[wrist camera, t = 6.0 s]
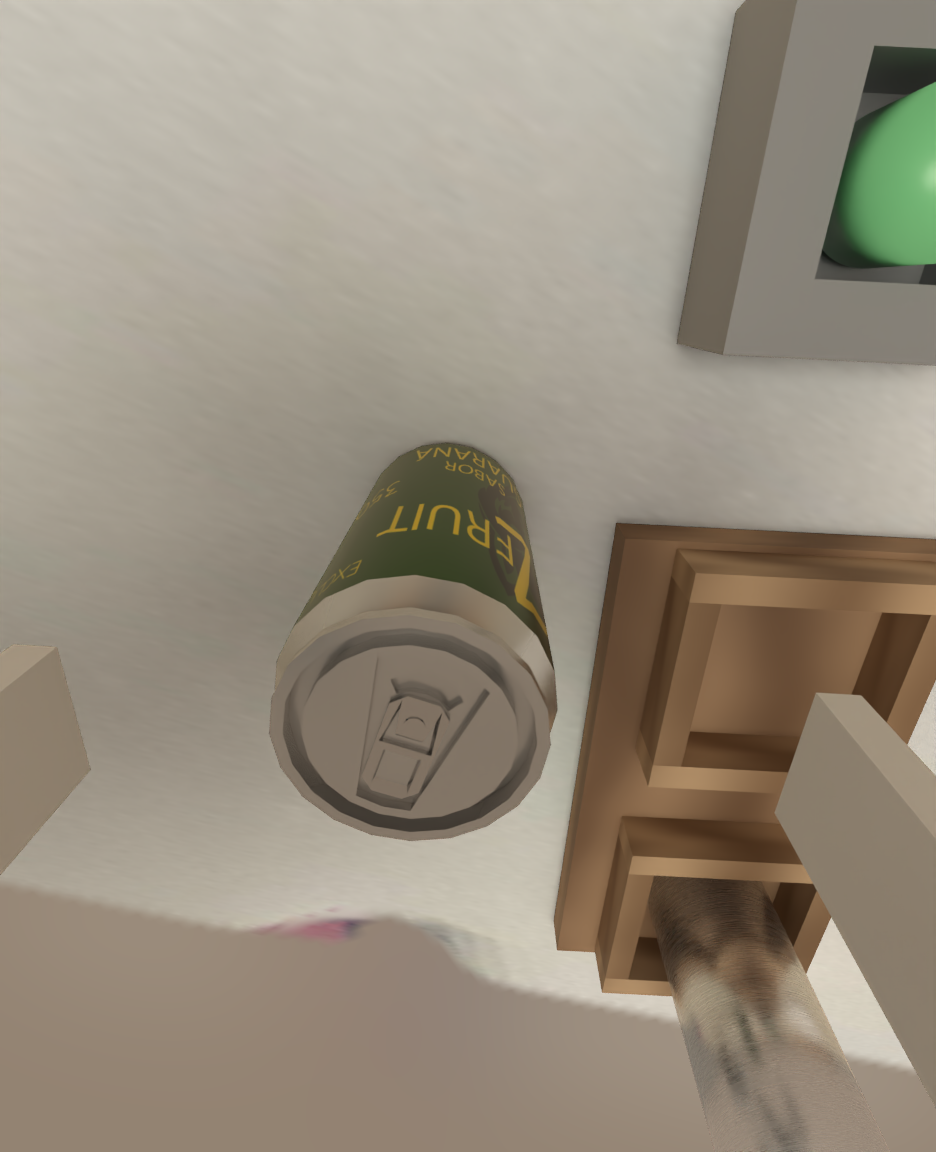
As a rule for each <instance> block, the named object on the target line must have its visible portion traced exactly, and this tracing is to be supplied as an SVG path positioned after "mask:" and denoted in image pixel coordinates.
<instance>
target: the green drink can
mask: <svg viewBox="0 0 936 1152" xmlns="http://www.w3.org/2000/svg"><path fill="white" fill-rule="evenodd" d="M556 713H557V697H556V684H555V672H554V666H553V661H552V656H551V651H550V645H549V640H548V635H547V630H546V624H545V619H544V614H543V609H542V603H541V598H540V593H539V587H538V582H537V577H536V572H535V566H534V561H533V556H532V551H531V545H530V540H529V535H528V530H527V524H526V519H525V514H524V508H523V503H522V500H521V498H520V495H519V493H518V491H517V489H516V486H515V484H514V482H513V480H512V478H511V477H510V476H509V475H508V474H507V473H506V472H505V471H504V470H503V468H502V467H501V466H500V465H499V464H498V463H497V462H496V461H495V460H493V459H491V458H490V457H488V456H486V455H484V454H482V453H481V452H479V451H477V450H475V449H474V448H470V447H465V446H460V445H455V444H450V443H443V444H435V445H427V446H421V447H419V448H416V449H414V450H412V451H410V452H408V453H406V454H404V455H402V456H399V457H398V458H397V459H396V460H395V461H394V462H393V463H392V464H391V465H390V466H389V467H388V468H387V469H386V470H385V471H384V472H383V473H381V475H380V477H379V478H378V480H377V482H376V484H375V485H374V487H373V489H372V491H371V492H370V494H369V496H368V498H367V499H366V501H365V503H364V505H363V506H362V508H361V510H360V512H359V513H358V515H357V517H356V519H355V520H354V522H353V524H352V526H351V527H350V529H349V531H348V533H347V534H346V536H345V538H344V540H343V541H342V543H341V545H340V547H339V548H338V550H337V552H336V554H335V555H334V557H333V559H332V561H331V562H330V564H329V566H328V568H327V569H326V571H325V573H324V575H323V576H322V578H321V580H320V582H319V583H318V585H317V587H316V589H315V590H314V592H313V594H312V596H311V597H310V599H309V601H308V603H307V604H306V606H305V608H304V610H303V611H302V613H301V615H300V617H299V618H298V620H297V622H296V623H295V625H294V627H293V629H292V631H291V633H290V635H289V637H288V639H287V641H286V643H285V645H284V647H283V649H282V651H281V653H280V655H279V657H278V659H277V664H276V678H275V692H274V694H273V696H272V701H271V715H270V730H269V734H270V737H271V740H272V743H273V746H274V749H275V752H276V755H277V758H278V761H279V764H280V767H281V769H282V770H283V771H284V772H285V774H286V775H287V776H288V778H289V779H290V780H291V782H292V783H293V784H294V786H295V787H296V788H297V790H298V791H299V792H300V794H301V795H302V796H303V797H304V798H305V799H307V800H308V801H309V802H311V803H312V804H313V805H315V806H316V807H318V808H319V809H320V810H322V811H323V812H324V813H326V814H327V815H328V816H330V817H331V818H332V819H334V820H336V821H339V822H341V823H343V824H346V825H348V826H351V827H353V828H356V829H358V830H361V831H363V832H366V833H368V834H370V835H376V836H383V837H389V838H395V839H402V840H408V841H416V840H430V839H444V838H452V837H455V836H458V835H461V834H464V833H467V832H471V831H474V830H477V829H480V828H483V827H486V826H488V825H490V824H491V823H493V822H494V821H496V820H497V819H499V818H500V817H502V816H503V815H505V814H506V813H508V812H509V811H511V810H512V809H514V808H515V807H517V806H518V805H519V804H520V803H521V801H522V800H523V799H524V798H525V796H526V795H527V794H528V793H529V791H530V790H531V789H532V788H533V786H534V785H535V784H536V782H537V781H538V780H539V779H540V777H541V774H542V770H543V767H544V764H545V761H546V758H547V755H548V752H549V748H550V745H551V743H550V732H551V729H552V725H553V722H554V719H555V716H556Z"/></svg>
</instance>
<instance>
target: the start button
mask: <svg viewBox="0 0 936 1152" xmlns="http://www.w3.org/2000/svg"><path fill="white" fill-rule="evenodd" d="M822 249H823V251H824V252H825V253H826V254H827V255H828V256H829V257H830V258H832V259H833V260H835V261H836V262H838V263H840V264H842V265H844V266H848V267H851V268H859V269H869V268H883V267H897V266H911V265H925V264H936V82H934V83H932V84H930V85H928V86H926V87H924V88H922V89H919V90H917V91H915V92H913V93H911V94H909V95H907V96H905V97H903V98H900V99H898V100H896V101H894V102H892V103H890V104H888V105H886V106H884V107H881V108H879V109H877V110H875V111H873V112H871V113H869V114H867V115H865V116H864V117H862V118H860V119H859V120H857V121H856V122H855V123H854V127H853V131H852V135H851V139H850V143H849V147H848V150H847V154H846V158H845V162H844V166H843V170H842V174H841V178H840V182H839V186H838V189H837V193H836V197H835V201H834V205H833V209H832V213H831V217H830V221H829V225H828V228H827V232H826V236H825V240H824V244H823V248H822Z"/></svg>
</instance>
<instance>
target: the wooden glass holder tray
mask: <svg viewBox="0 0 936 1152" xmlns="http://www.w3.org/2000/svg"><path fill="white" fill-rule="evenodd" d="M935 680H936V540H935V539H915V538H896V537H876V536H857V535H837V534H818V533H798V532H779V531H759V530H740V529H720V528H701V527H681V526H662V525H642V524H623V523H616V529H615V535H614V542H613V548H612V554H611V561H610V567H609V573H608V580H607V586H606V592H605V599H604V605H603V612H602V618H601V624H600V631H599V637H598V643H597V650H596V656H595V662H594V669H593V675H592V681H591V688H590V694H589V701H588V707H587V713H586V720H585V726H584V732H583V739H582V745H581V751H580V758H579V764H578V770H577V777H576V783H575V789H574V796H573V802H572V809H571V815H570V821H569V828H568V834H567V840H566V847H565V853H564V859H563V866H562V872H561V878H560V885H559V891H558V898H557V904H556V910H555V917H554V927H555V935H556V944H557V950H563V951H583V952H595V954H596V960H597V966H598V971H599V977H600V983H601V989H602V993H620V994H639V995H658V996H672V993H671V989H670V986H669V982H668V978H667V974H666V971H665V967H664V963H663V960H662V956H661V952H660V949H659V945H658V941H657V938H656V934H655V930H654V926H653V923H652V919H651V915H650V912H649V908H648V904H647V902H648V898H649V894H650V890H651V886H652V882H653V878H654V876H673V877H693V878H712V879H731V880H750V881H762V883H763V885H764V887H765V889H766V891H767V893H768V896H769V898H770V900H771V902H772V904H773V906H774V908H775V910H776V912H777V914H778V917H779V919H780V921H781V923H782V925H783V927H784V929H785V931H786V933H787V935H788V938H789V940H790V942H791V944H792V946H793V948H794V950H795V952H796V954H797V956H798V959H799V961H800V963H801V965H802V967H803V969H804V971H805V973H807V970H808V968H809V966H810V964H811V961H812V959H813V957H814V955H815V952H816V950H817V948H818V946H819V943H820V941H821V939H822V937H823V934H824V932H825V930H826V927H827V925H828V923H829V921H830V918H831V915H830V914H829V912H828V910H827V908H826V906H825V904H824V903H823V901H822V899H821V897H820V895H819V893H818V892H817V890H816V888H815V886H814V884H813V882H812V881H811V879H810V877H809V875H808V873H807V871H806V870H805V868H804V866H803V864H802V862H801V860H800V859H799V857H798V855H797V853H796V851H795V849H794V848H793V846H792V844H791V842H790V840H789V838H788V837H787V835H786V833H785V831H784V829H783V827H782V826H781V824H780V822H779V820H778V818H777V816H776V815H775V810H776V807H777V804H778V801H779V798H780V796H781V793H782V790H783V787H784V784H785V781H786V778H787V775H788V772H789V769H790V767H791V764H792V761H793V758H794V755H795V752H796V749H797V746H798V743H799V740H800V737H801V735H802V732H803V729H804V726H805V723H806V720H807V717H808V714H809V711H810V708H811V706H812V703H813V700H814V697H815V694H816V693H831V694H848V695H861V696H862V697H863V698H864V699H865V700H866V701H867V702H868V703H869V704H870V705H871V706H872V708H873V709H874V710H875V711H876V712H877V713H878V714H879V715H880V716H881V717H882V718H883V719H884V721H885V722H886V723H887V724H888V725H889V726H890V727H891V728H892V729H893V730H894V731H895V732H896V733H897V735H898V736H899V737H900V738H901V739H902V740H903V741H904V742H905V743H906V744H908V742H909V739H910V737H911V735H912V733H913V730H914V728H915V726H916V724H917V721H918V719H919V717H920V714H921V712H922V710H923V708H924V705H925V703H926V701H927V699H928V696H929V694H930V692H931V690H932V687H933V685H934V683H935Z"/></svg>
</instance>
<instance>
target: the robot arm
mask: <svg viewBox="0 0 936 1152" xmlns="http://www.w3.org/2000/svg"><path fill="white" fill-rule="evenodd" d="M90 770H91V769H90V766H89V762H88V758H87V755H86V751H85V748H84V744H83V740H82V737H81V733H80V729H79V726H78V722H77V718H76V715H75V711H74V708H73V704H72V700H71V697H70V693H69V689H68V686H67V682H66V678H65V675H64V671H63V668H62V664H61V660H60V657H59V653H58V649H57V647H51V646H35V645H18V644H13V645H12V646H10V647H9V648H7V649H6V650H5V651H3V652H2V653H1V654H0V875H1V874H2V873H3V871H4V870H5V869H6V868H7V867H8V866H9V864H10V863H11V862H12V861H13V860H14V859H15V857H16V856H17V855H18V854H19V853H20V851H21V850H22V849H23V848H24V847H25V846H26V844H27V843H28V842H29V841H30V840H31V839H32V837H33V836H34V835H35V834H36V833H37V832H38V830H39V829H40V828H41V827H42V826H43V825H44V823H45V822H46V821H47V820H48V819H49V818H50V816H51V815H52V814H53V813H54V812H55V811H56V809H57V808H58V807H59V806H60V805H61V804H62V802H63V801H64V800H65V799H66V798H67V797H68V795H69V794H70V793H71V792H72V791H73V789H74V788H75V787H76V786H77V785H78V784H79V782H80V781H81V780H82V779H83V778H84V777H85V775H86V774H87V773H88V772H89V771H90ZM775 815H776V816H777V818H778V820H779V822H780V824H781V826H782V827H783V829H784V831H785V833H786V835H787V837H788V838H789V840H790V842H791V844H792V846H793V848H794V849H795V851H796V853H797V855H798V857H799V859H800V860H801V862H802V864H803V866H804V868H805V870H806V871H807V873H808V875H809V877H810V879H811V881H812V882H813V884H814V886H815V888H816V890H817V892H818V893H819V895H820V897H821V899H822V901H823V903H824V904H825V906H826V908H827V910H828V912H829V914H830V915H831V917H832V919H833V921H834V923H835V924H836V926H837V928H838V930H839V932H840V934H841V935H842V937H843V939H844V941H845V943H846V945H847V946H848V948H849V950H850V952H851V954H852V956H853V957H854V959H855V961H856V963H857V965H858V967H859V968H860V970H861V972H862V974H863V976H864V978H865V979H866V981H867V983H868V985H869V987H870V989H871V990H872V992H873V994H874V996H875V998H876V1000H877V1001H878V1003H879V1005H880V1007H881V1009H882V1011H883V1012H884V1014H885V1016H886V1018H887V1020H888V1022H889V1023H890V1025H891V1027H892V1029H893V1031H894V1033H895V1034H896V1036H897V1038H898V1040H899V1042H900V1043H901V1045H902V1047H903V1049H904V1051H905V1053H906V1054H907V1056H908V1058H909V1060H910V1062H911V1064H912V1065H913V1067H914V1069H915V1071H916V1073H917V1075H918V1076H919V1078H920V1080H921V1082H922V1084H923V1085H924V1087H925V1089H926V1091H927V1093H928V1095H929V1097H930V1098H931V1100H932V1102H933V1104H934V1106H935V1107H936V776H935V775H934V773H933V772H932V771H931V770H930V769H929V768H928V767H927V766H926V765H925V764H924V763H923V762H922V760H921V759H920V758H919V757H918V756H917V755H916V754H915V753H914V752H913V751H912V750H911V749H910V748H909V746H908V745H907V744H906V743H905V742H904V741H903V740H902V739H901V738H900V737H899V736H898V735H897V733H896V732H895V731H894V730H893V729H892V728H891V727H890V726H889V725H888V724H887V723H886V722H885V721H884V719H883V718H882V717H881V716H880V715H879V714H878V713H877V712H876V711H875V710H874V709H873V708H872V706H871V705H870V704H869V703H868V702H867V701H866V700H865V699H864V698H863V697H862V696H861V695H848V694H831V693H816V694H815V697H814V700H813V703H812V706H811V708H810V711H809V714H808V717H807V720H806V723H805V726H804V729H803V732H802V735H801V737H800V740H799V743H798V746H797V749H796V752H795V755H794V758H793V761H792V764H791V767H790V769H789V772H788V775H787V778H786V781H785V784H784V787H783V790H782V793H781V796H780V798H779V801H778V804H777V807H776V810H775Z"/></svg>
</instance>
